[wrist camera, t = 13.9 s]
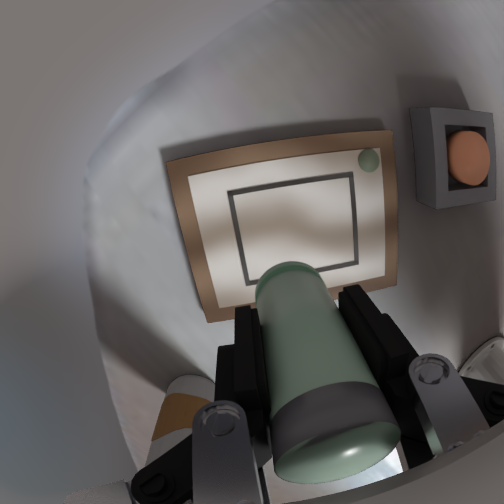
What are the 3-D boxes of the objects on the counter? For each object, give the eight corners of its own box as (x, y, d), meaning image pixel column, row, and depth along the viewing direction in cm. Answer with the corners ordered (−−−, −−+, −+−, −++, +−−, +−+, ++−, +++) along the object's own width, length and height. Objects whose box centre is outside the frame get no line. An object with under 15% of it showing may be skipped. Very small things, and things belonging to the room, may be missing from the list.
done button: (477, 179, 22) (490, 183, 21) (444, 183, 22) (457, 187, 21) (475, 131, 21) (488, 132, 19) (441, 129, 21) (454, 130, 19)
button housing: (475, 192, 25) (495, 200, 22) (416, 200, 25) (436, 209, 22) (471, 112, 22) (492, 113, 19) (409, 108, 22) (429, 107, 19)
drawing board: (391, 279, 28) (397, 285, 27) (208, 316, 28) (207, 324, 27) (385, 130, 23) (392, 130, 21) (169, 161, 23) (165, 162, 22)
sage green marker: (325, 315, 13) (388, 464, 6) (260, 327, 13) (280, 491, 6) (321, 255, 12) (413, 403, 5) (249, 267, 12) (265, 440, 5)
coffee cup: (197, 418, 34) (190, 516, 20) (147, 386, 32) (121, 491, 18) (243, 392, 33) (249, 503, 19) (191, 355, 30) (174, 478, 16)
